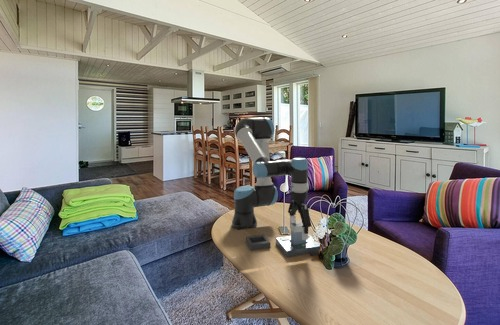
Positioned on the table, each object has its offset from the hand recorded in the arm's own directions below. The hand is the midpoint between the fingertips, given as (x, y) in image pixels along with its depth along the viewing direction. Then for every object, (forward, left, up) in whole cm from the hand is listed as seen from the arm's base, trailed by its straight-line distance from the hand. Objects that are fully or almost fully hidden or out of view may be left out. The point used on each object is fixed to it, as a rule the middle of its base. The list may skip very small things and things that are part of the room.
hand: (298, 233), depth 125 cm
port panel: (0, 0, -8) cm, 8 cm away
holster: (-9, -18, -8) cm, 22 cm away
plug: (0, 0, -7) cm, 7 cm away
